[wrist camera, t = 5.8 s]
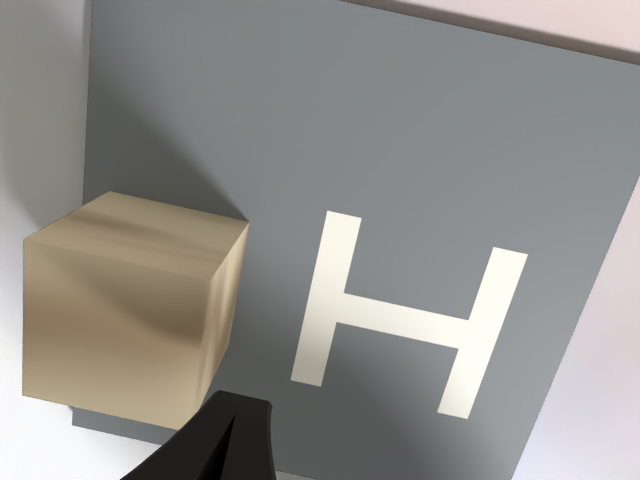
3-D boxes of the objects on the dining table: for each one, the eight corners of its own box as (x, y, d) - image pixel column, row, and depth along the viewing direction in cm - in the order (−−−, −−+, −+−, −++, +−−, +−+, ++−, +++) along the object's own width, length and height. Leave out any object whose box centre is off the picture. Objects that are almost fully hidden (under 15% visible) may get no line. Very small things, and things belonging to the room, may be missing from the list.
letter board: (491, 509, 23) (494, 518, 22) (78, 417, 23) (72, 425, 22) (673, 74, 16) (682, 74, 16) (102, -50, 16) (94, -53, 16)
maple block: (229, 343, 20) (188, 432, 16) (101, 315, 20) (22, 395, 16) (249, 221, 19) (210, 280, 14) (109, 191, 19) (23, 239, 14)
